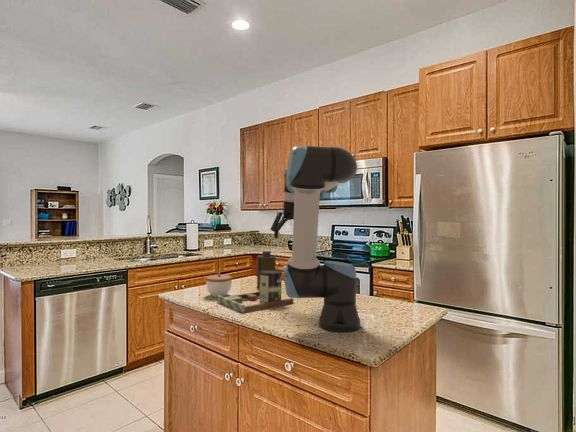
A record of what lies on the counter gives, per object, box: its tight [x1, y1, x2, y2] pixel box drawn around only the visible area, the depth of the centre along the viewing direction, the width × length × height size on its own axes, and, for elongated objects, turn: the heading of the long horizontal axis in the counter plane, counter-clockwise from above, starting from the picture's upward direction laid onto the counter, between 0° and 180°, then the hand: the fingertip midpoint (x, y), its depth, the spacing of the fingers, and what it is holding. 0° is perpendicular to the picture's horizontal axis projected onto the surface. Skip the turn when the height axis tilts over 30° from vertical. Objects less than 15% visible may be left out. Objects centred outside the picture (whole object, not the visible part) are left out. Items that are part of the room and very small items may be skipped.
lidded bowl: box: [205, 272, 233, 298], centre depth 180 cm, size 13×13×11 cm
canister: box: [256, 250, 276, 290], centre depth 198 cm, size 11×10×20 cm
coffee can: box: [258, 269, 283, 304], centre depth 167 cm, size 10×10×14 cm
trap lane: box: [217, 291, 294, 314], centre depth 165 cm, size 22×27×3 cm
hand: (289, 242), depth 177 cm, fingers open, 13 cm apart
